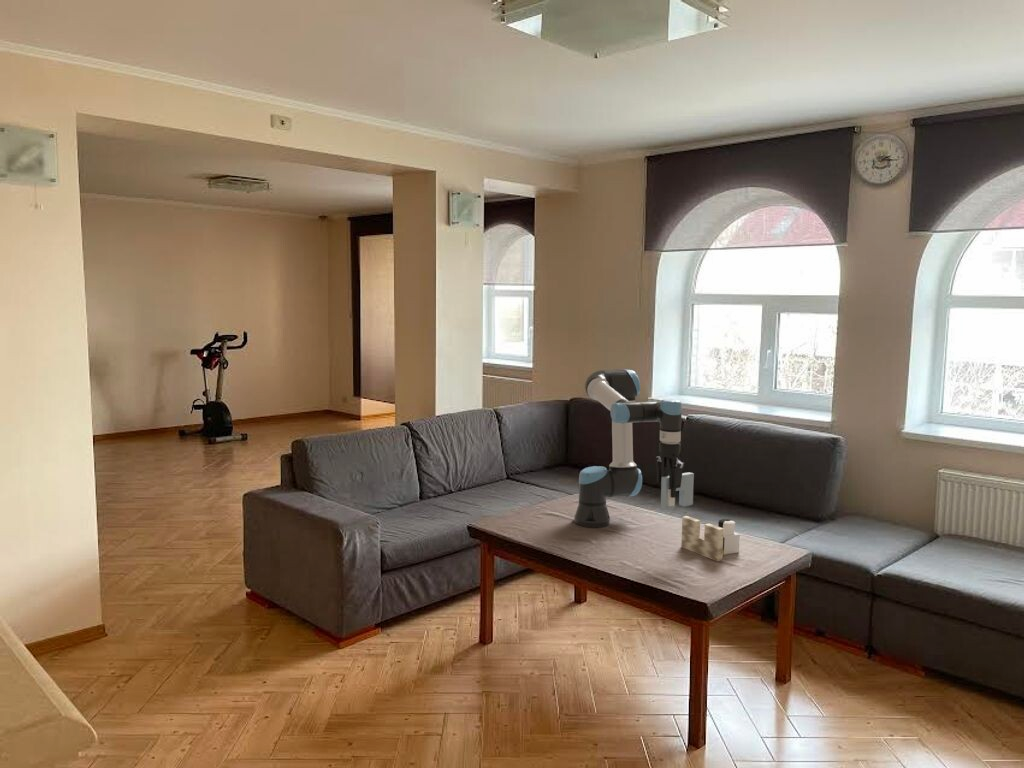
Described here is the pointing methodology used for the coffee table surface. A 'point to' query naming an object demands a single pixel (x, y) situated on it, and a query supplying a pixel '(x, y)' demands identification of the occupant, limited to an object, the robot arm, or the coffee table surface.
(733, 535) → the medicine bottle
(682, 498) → the cross plate
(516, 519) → the coffee table surface
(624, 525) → the coffee table surface
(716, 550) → the standing plate
